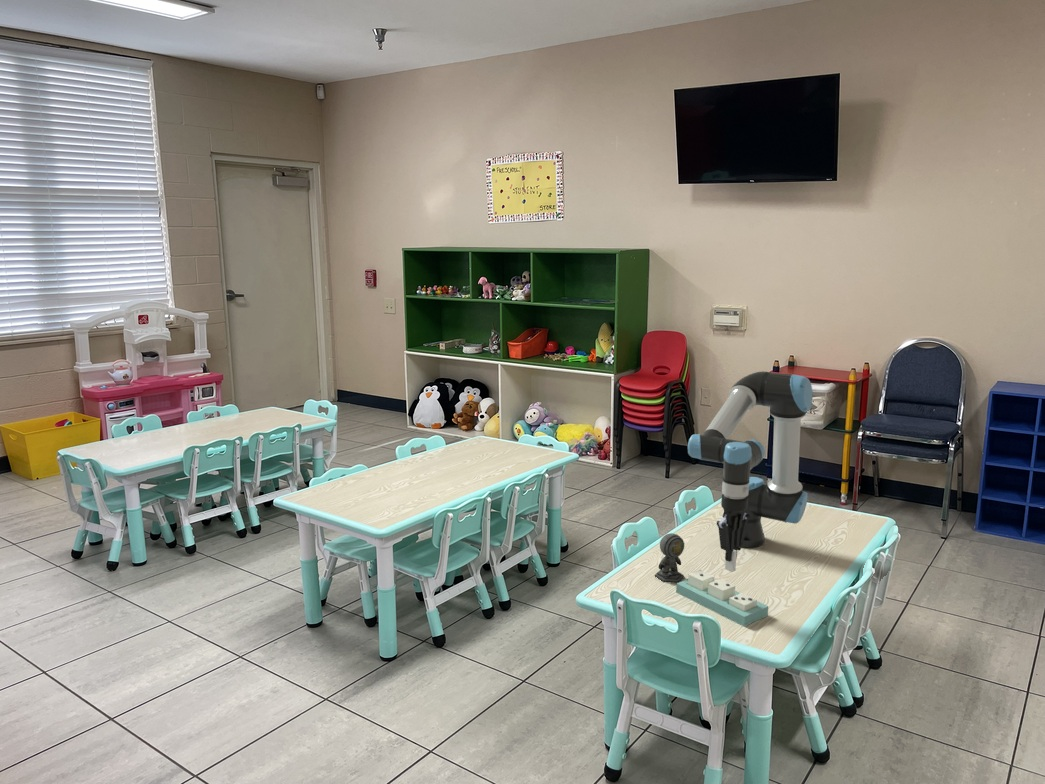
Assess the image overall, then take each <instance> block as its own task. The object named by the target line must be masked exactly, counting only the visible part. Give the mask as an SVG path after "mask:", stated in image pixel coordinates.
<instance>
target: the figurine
mask: <svg viewBox="0 0 1045 784" xmlns="http://www.w3.org/2000/svg"><path fill="white" fill-rule="evenodd" d="M659 548H660V549H659V550H660V552H661V553H662V554H663V558H662V559H661V560H660V562H659V565H658V569H659V571H657V572H656V573H655V575H654V576H655V577H654V578H656V577H657V578H658V579H657V578H656V579H657V580H659V581H660V580H661V581H660V582H662V583H664V582H671V584H677V583H679V582H682V581H683V580H684V579H685V575H684V574H682V572H680V571H678V565H679V566H681V565H682V561H681V559H680V558H679V557H680V556H681V555H682V554H683V552H684V550H685V541H684V539H683V538H682V537H681V536H680V535H678V534H677V533H672V532H671V533H666V534H665V535H663V536H662V537H661V539H660V541H659Z"/></svg>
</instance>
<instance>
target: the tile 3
mask: <svg viewBox="0 0 1045 784" xmlns="http://www.w3.org/2000/svg"><path fill="white" fill-rule="evenodd" d="M739 593H740V594H738V595H735V596H733V597H730V598H729V605H731V606H733V607H735V608H737V609H739V610H741V611H743V612H746V611H748V610H750V609H753V608H755V607H756V605H757V601H758V599H755V598H753V597H751V596H749V595H746V594H745V593H742V592H739Z"/></svg>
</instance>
